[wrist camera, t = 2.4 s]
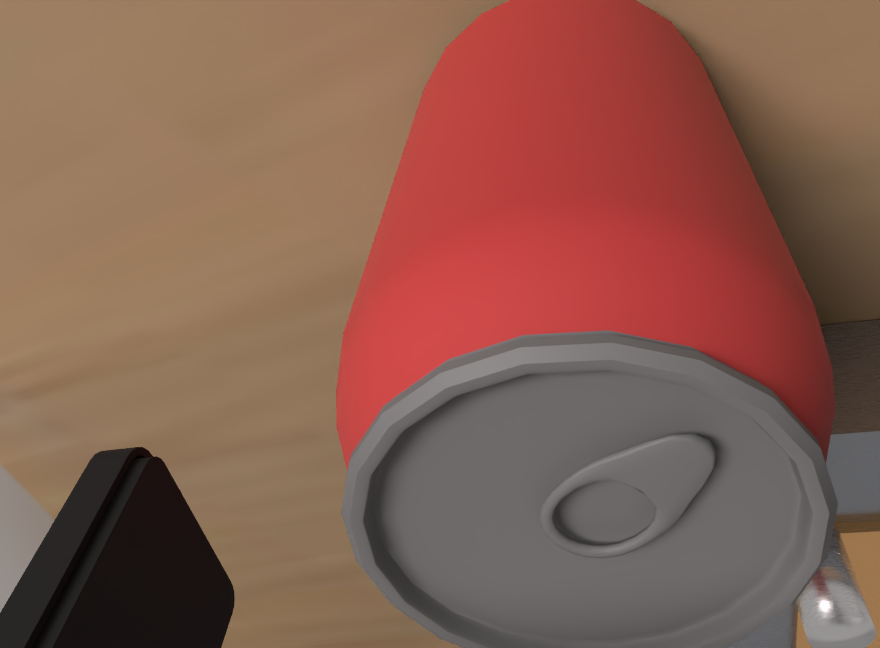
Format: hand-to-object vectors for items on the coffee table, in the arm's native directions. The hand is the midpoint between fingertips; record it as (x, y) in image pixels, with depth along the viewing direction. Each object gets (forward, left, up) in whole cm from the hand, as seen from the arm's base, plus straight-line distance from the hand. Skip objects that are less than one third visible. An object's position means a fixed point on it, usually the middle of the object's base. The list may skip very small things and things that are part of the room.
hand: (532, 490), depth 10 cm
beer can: (-1, 0, -11) cm, 11 cm away
